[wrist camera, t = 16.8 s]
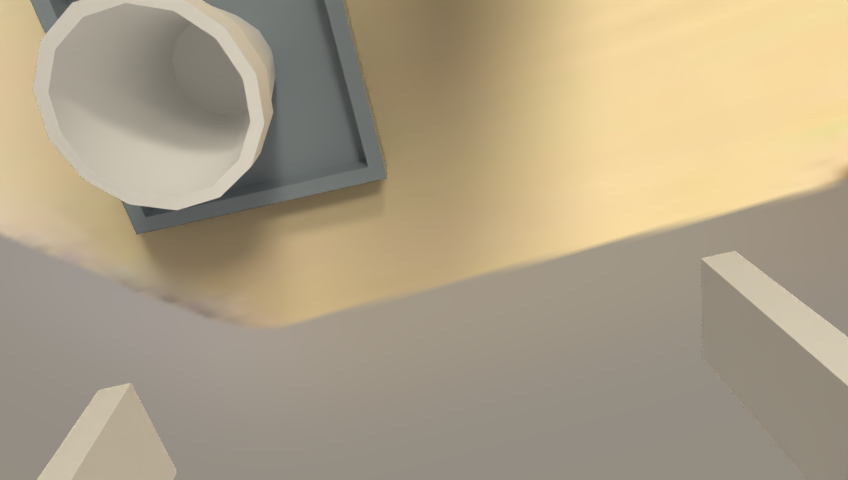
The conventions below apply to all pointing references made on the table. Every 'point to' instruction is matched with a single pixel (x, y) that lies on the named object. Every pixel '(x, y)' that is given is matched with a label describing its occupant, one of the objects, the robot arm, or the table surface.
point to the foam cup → (155, 97)
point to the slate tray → (290, 111)
